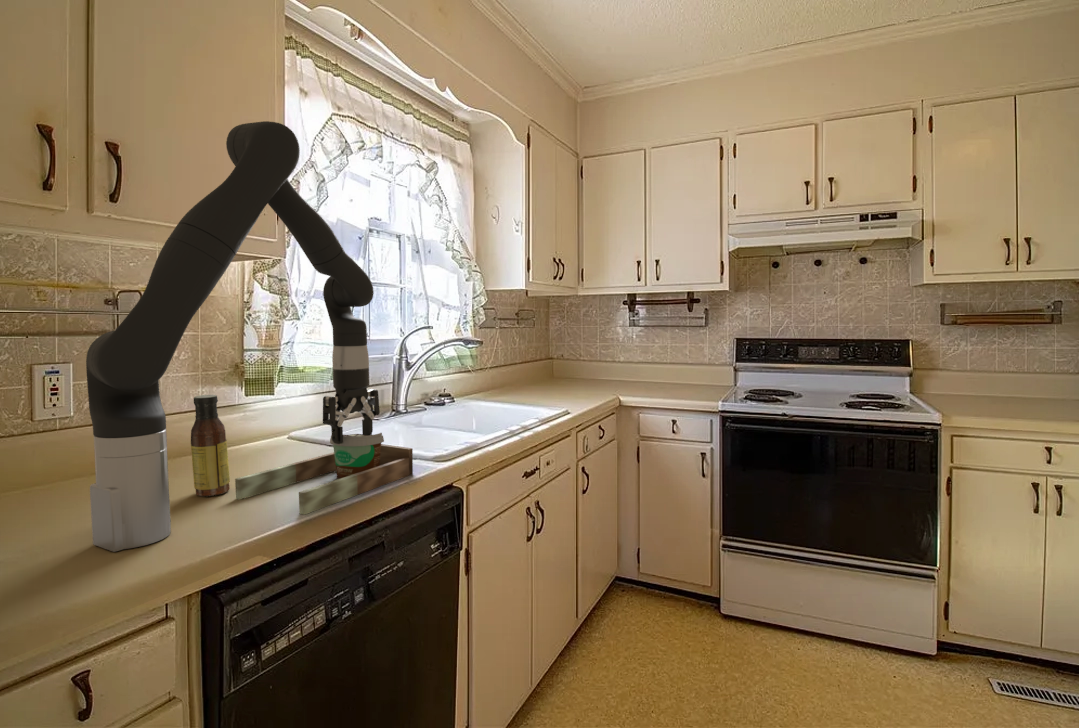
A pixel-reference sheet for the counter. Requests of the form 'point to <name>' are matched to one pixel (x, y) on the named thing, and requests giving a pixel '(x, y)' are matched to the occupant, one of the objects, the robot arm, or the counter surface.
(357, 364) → the robot arm
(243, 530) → the counter surface
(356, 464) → the food container
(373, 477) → the crate bay
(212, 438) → the sauce bottle
